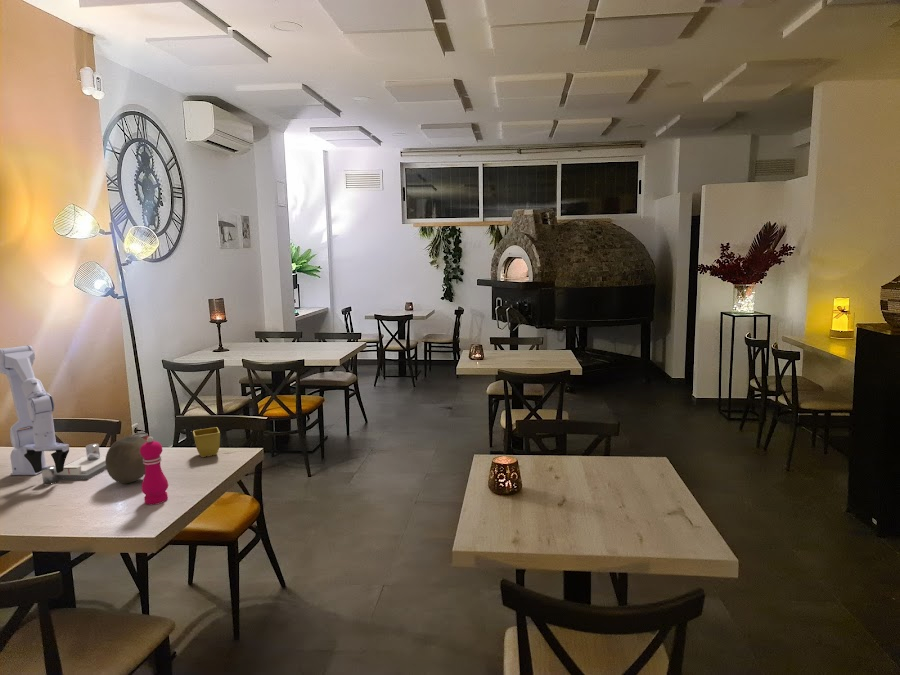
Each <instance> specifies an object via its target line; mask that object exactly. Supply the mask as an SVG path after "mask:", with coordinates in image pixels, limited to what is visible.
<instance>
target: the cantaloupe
mask: <svg viewBox="0 0 900 675" xmlns="http://www.w3.org/2000/svg"><path fill="white" fill-rule="evenodd" d="M146 442H147V440H145V439H143V438H141V437H139V436H131V435H128V436H124V437H121V438H120V439H117V440H115V441H114V442H113V443H112V444H111V446H110V447H109V448H108V450H107V453H106V455H105V457H106V460H105V461H106V468H107V469H106V471H107V474H108V475H109V476H110V478H111V479H112V480H114V481H116V482H117V483H120V484H131V483H134V482H136V481H138V480H140V479H141V478H142V477H144V476H145V464H143V457H142V456H141V454H140V448H141V446H142V445H143V444H144V443H146Z"/></svg>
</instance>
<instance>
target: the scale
mask: <svg viewBox="0 0 900 675" xmlns="http://www.w3.org/2000/svg"><path fill="white" fill-rule="evenodd" d="M105 460H106V456H100V459H97V460H93V461H88V460H87V456H82V457H79V458H77V459H75V460H73V461H71V462H69V463H67V464H64V469H63V471H62V472H60V473H57V479H58V480H90V479H92V478H93V477H95V475H96V476H97V475H99V474H101V473H103V472H105V471H107V468H106V461H105ZM102 471H103V472H102ZM100 472H101V473H100Z"/></svg>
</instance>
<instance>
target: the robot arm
mask: <svg viewBox="0 0 900 675" xmlns="http://www.w3.org/2000/svg"><path fill="white" fill-rule="evenodd" d="M35 359H36V355H35V350H34V347H33V346H32V345H30V344H28V345H22V346H15V347H14V346H13V347H4V348H3V347H2V348H1V347H0V374H4V375H6V377H7V379H8V382H9V386H10V391H11V395H12V396H11V397H12V401H13V404H14V408H15V414H16V418H17V420H16V422H15V423H13V425H11V426H10V429H9V433H10V436H9V437H10V442H11V445H12V448H13V449H12V450H11V452H10V463H11V464H10V465H11V471H12V472H11V473H10V475H11V476H15V475H16V476H17V475H18V476H20V475H21V476H30V475H31V476H36V475H39V474H42V470H41V469H42V468H44V467H48V466H49V465H47V464H46V456H45V452H53V453H51V454H50V455H51V457H52V460H53V462H54V466H55V467H56V472H57V473H60V472H62V471H63V469H64V466H65V463H66V459H67V456H68V454H69V452H70V445H69V444H68V443H60V442H57V440H56V432H55V424H54V415H53V412H54V411H55V402H54V399H53V395H51V394H50V393H49V392H47V391H46V389H45V387H44V385H43V383H42V381H41V379H38V378H37V377H36V375H35V371H34V369H33V365H34V363H35V362H34V361H35Z"/></svg>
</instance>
